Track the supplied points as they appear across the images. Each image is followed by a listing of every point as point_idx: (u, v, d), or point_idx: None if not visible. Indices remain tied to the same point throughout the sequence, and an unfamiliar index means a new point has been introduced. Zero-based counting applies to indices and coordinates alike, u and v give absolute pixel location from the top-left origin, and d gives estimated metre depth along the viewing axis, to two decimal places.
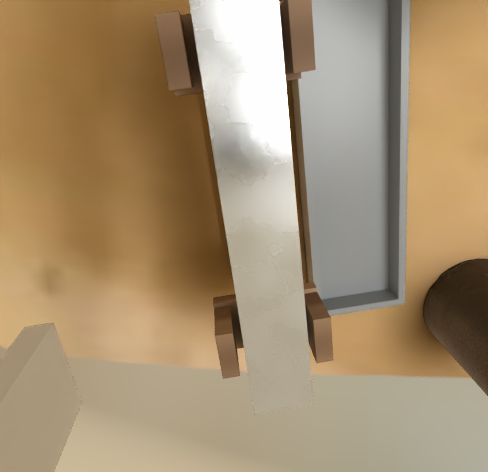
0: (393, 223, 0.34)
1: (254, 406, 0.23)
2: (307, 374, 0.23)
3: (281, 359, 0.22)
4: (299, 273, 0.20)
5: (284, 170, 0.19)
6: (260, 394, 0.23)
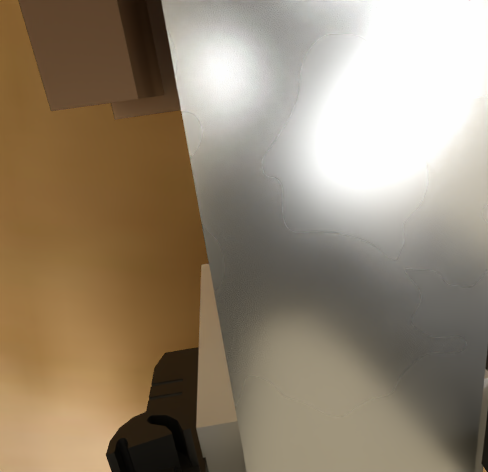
0: None
1: None
2: None
3: None
4: None
5: (454, 372, 0.06)
6: None
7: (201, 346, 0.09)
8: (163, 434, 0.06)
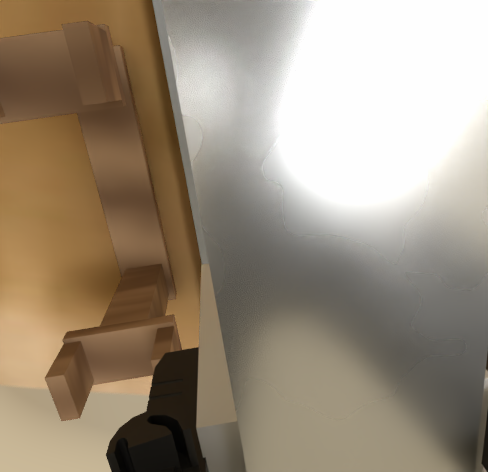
0: None
1: None
2: None
3: None
4: None
5: (455, 375, 0.06)
6: None
7: (201, 346, 0.09)
8: (163, 434, 0.06)
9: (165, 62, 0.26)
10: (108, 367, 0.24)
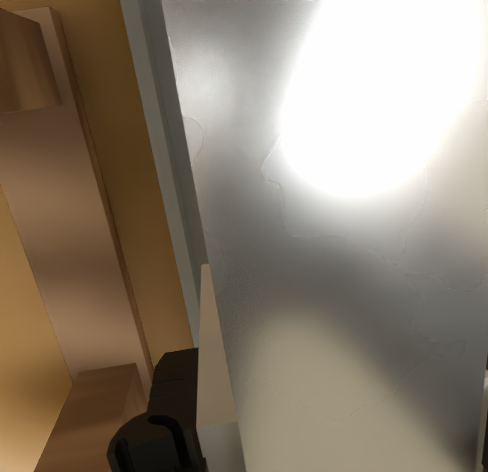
0: None
1: None
2: None
3: None
4: None
5: (455, 376, 0.06)
6: None
7: (201, 346, 0.09)
8: (163, 434, 0.06)
9: (130, 36, 0.14)
10: None
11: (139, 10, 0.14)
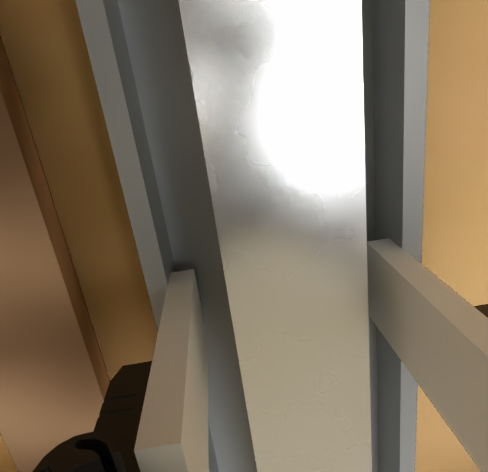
0: (387, 421, 0.16)
1: None
2: None
3: None
4: (365, 416, 0.12)
5: (349, 251, 0.10)
6: None
7: (155, 360, 0.08)
8: (90, 459, 0.05)
9: (83, 13, 0.09)
10: None
11: None
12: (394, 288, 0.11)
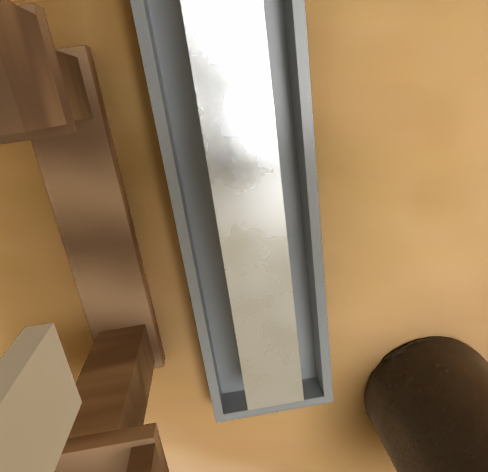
0: (312, 300, 0.26)
1: (247, 402, 0.25)
2: (297, 371, 0.24)
3: (273, 357, 0.24)
4: (288, 275, 0.22)
5: (272, 180, 0.20)
6: (253, 390, 0.24)
7: None
8: None
9: (145, 67, 0.19)
10: None
11: (152, 49, 0.19)
12: None
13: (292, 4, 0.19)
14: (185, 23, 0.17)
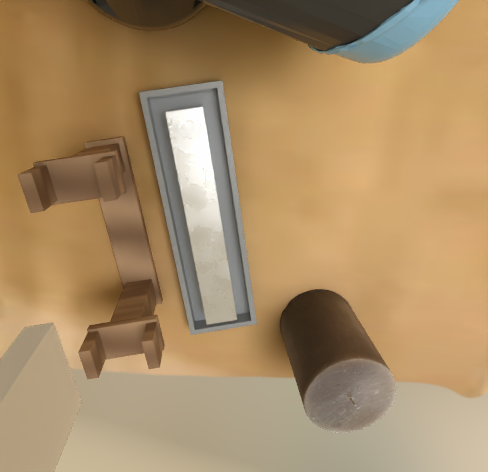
0: None
1: (206, 320, 0.46)
2: (232, 302, 0.46)
3: (218, 294, 0.45)
4: (224, 250, 0.43)
5: (214, 203, 0.41)
6: (209, 313, 0.46)
7: None
8: None
9: (152, 150, 0.40)
10: (115, 348, 0.39)
11: (155, 141, 0.40)
12: None
13: (222, 120, 0.40)
14: (170, 134, 0.39)
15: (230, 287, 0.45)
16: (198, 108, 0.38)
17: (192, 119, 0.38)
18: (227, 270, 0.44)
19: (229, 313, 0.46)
